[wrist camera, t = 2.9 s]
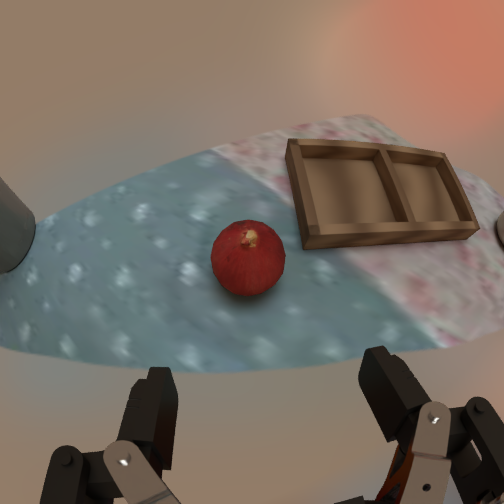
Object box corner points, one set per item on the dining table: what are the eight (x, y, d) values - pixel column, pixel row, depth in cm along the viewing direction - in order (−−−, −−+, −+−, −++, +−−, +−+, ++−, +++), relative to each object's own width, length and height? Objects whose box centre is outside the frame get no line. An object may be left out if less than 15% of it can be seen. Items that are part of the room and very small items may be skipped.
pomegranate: (210, 250, 26) (200, 202, 19) (270, 239, 27) (281, 190, 20) (221, 310, 24) (212, 282, 17) (285, 297, 25) (304, 265, 17)
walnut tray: (303, 249, 27) (309, 235, 24) (284, 156, 32) (288, 138, 29) (466, 239, 28) (480, 228, 26) (434, 166, 33) (444, 153, 30)
